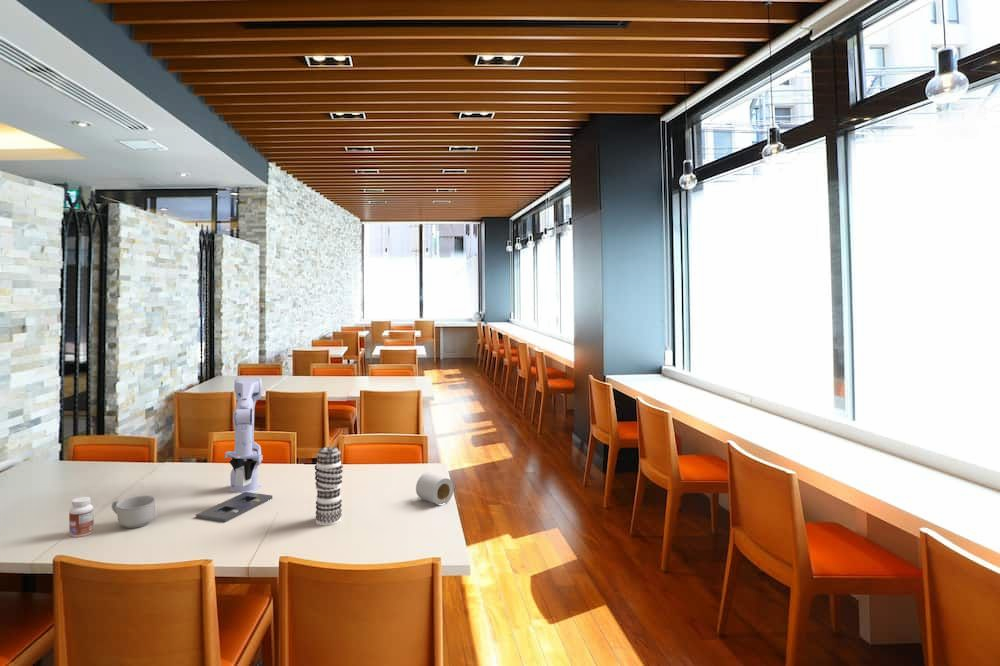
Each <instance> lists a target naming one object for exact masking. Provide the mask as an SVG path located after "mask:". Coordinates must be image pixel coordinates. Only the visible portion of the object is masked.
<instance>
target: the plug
mask: <svg viewBox="0 0 1000 666" xmlns="http://www.w3.org/2000/svg"><path fill="white" fill-rule="evenodd" d="M250 483H252V476H251V479H249V480H246V479H245V469H244V466H242V467H240V468H237V469H236V486H245V485H248V484H250Z"/></svg>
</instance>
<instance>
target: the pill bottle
mask: <svg viewBox="0 0 1000 666" xmlns="http://www.w3.org/2000/svg"><path fill="white" fill-rule="evenodd" d="M68 513H69V515H68V516H69V517H68V520H69V521H68V522H69V526H68V527H69V536H70V537H74V538H79V537H80V538H81V537H85V536H88V535H91V534H92V533H93V532H94V529H95V528H94V527H95V523H94V521H95V520H94V519H95V518H94V506H93V504H91V497H89V496H80V497H76V498H73V499H72V500H71V507H70V508H69V511H68Z"/></svg>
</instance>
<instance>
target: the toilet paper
mask: <svg viewBox="0 0 1000 666" xmlns="http://www.w3.org/2000/svg"><path fill="white" fill-rule="evenodd" d="M415 492H416V495H417V496H418V498H420V499H421V500H425V501H426V502H430V503H432V504H435V505H437V506H440V505H439V504H443V503H446V502H448V503H449V502H450V500H451V499H452V497H453V494H454V483H453V481H452V480H451V479H449V478H447V477H445V476H441V475H438V474H436V473H432V472H424V473H423V474H421V475H420V477H418V480H417V482H416V485H415ZM446 504H447V503H446Z"/></svg>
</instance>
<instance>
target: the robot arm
mask: <svg viewBox="0 0 1000 666" xmlns="http://www.w3.org/2000/svg"><path fill="white" fill-rule="evenodd" d="M262 383H263V380H262V378H261V377H239V378H238V377H236V378H235V379H234V386H233V387H234V394H235V398H236V400H237V401H236V408H235V410H233V412H232V413H233V416H232V422H233V429H234V448H233V451H226V452H224V458H225V459H229V458H230V459H231V460H229V464H230V465H231V467H232V469H231V471H230V488H229V489H228V491H229V492H237V493H241V494H242V493H244V492H250V493H254V492H255V491H257V489H258V490H260V489H261V487H262V488H263V485H258V467H259V466H261V464H262V461H263V456H264V455H263V454H262V447H261V445H260V444H258V443H257V442H256V441H255V440H254V437H255V435H254V434H255V407H256V403H257V401H259V400H261V397H262V393H263V391H262V390H263V386H262V385H263V384H262ZM242 466H244V469H245V479H246V480H249V479H251V476H252V483H250V484H248V485H245V486H236V469H237V468H240V467H242ZM259 488H260V489H259Z"/></svg>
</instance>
